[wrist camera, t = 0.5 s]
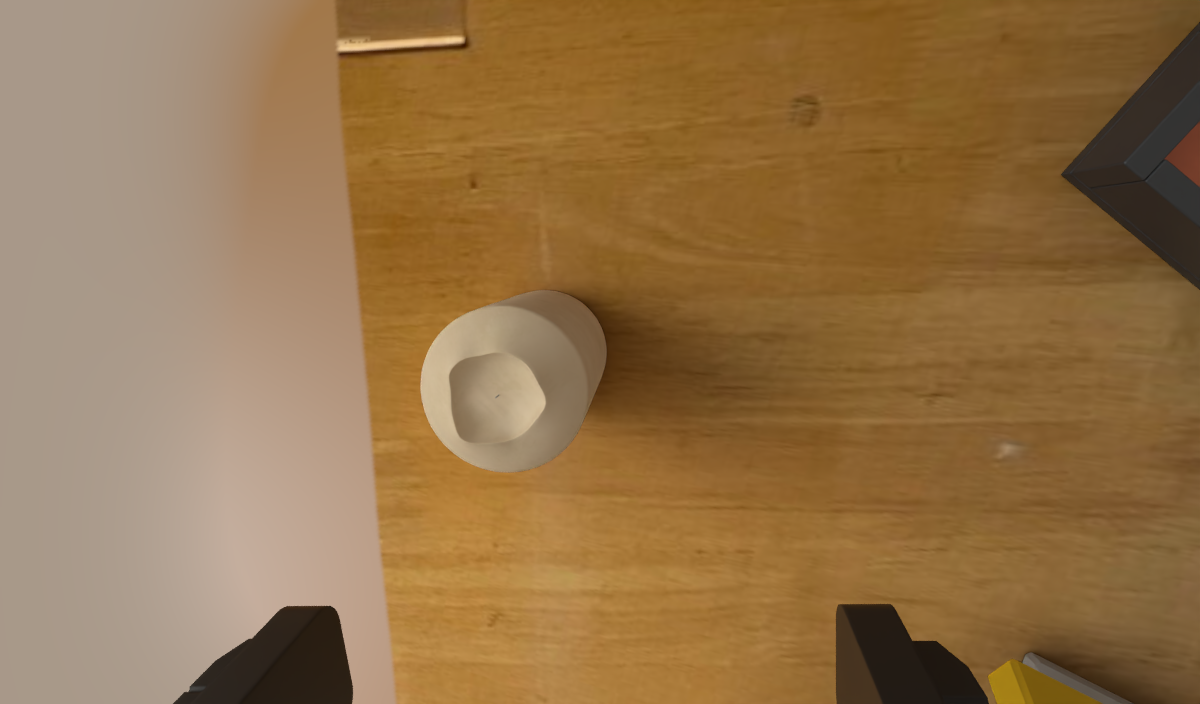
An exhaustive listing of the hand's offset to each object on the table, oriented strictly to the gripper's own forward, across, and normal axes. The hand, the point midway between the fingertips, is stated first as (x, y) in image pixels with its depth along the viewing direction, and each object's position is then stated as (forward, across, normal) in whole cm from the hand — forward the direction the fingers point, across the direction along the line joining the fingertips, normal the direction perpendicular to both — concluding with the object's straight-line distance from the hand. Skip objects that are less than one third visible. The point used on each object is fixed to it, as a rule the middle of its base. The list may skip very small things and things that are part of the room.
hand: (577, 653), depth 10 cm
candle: (+19, +4, -1) cm, 20 cm away
